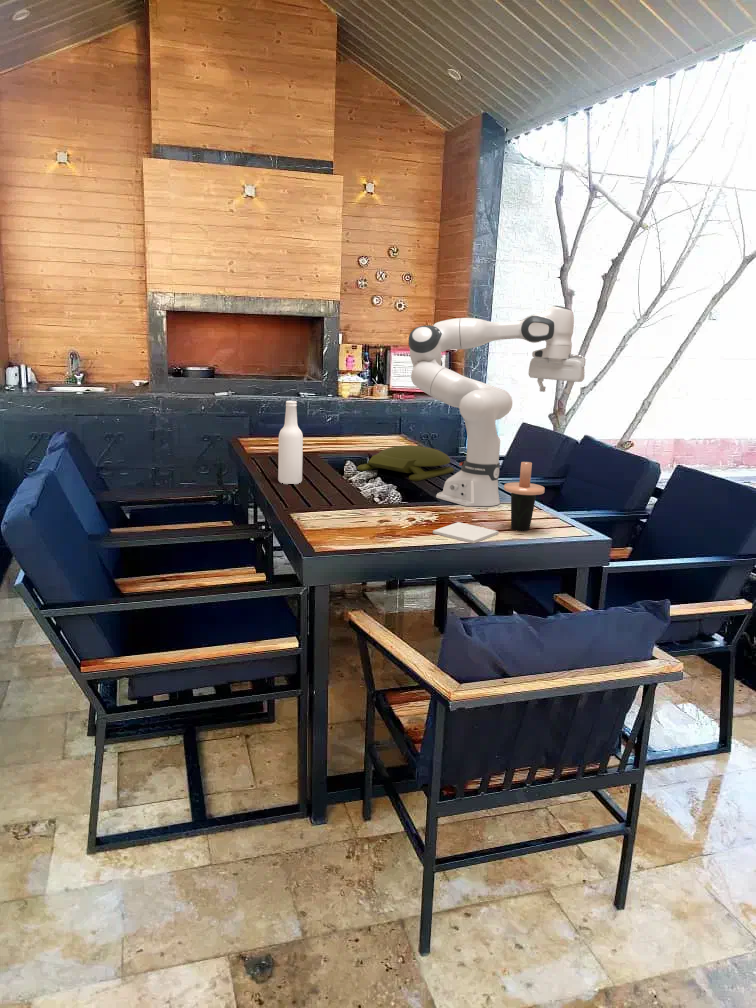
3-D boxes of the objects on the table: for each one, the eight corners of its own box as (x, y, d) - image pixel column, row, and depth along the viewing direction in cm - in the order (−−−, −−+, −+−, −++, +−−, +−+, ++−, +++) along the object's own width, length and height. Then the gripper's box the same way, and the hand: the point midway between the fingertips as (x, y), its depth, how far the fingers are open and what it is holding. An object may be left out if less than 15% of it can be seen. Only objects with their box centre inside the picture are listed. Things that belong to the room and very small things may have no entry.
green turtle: (416, 483, 292) (418, 458, 290) (354, 470, 310) (354, 447, 307) (463, 471, 320) (465, 448, 317) (403, 460, 337) (404, 438, 335)
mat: (432, 533, 223) (432, 530, 223) (458, 524, 234) (458, 522, 234) (473, 543, 215) (473, 540, 215) (498, 533, 226) (498, 531, 226)
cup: (537, 531, 230) (541, 493, 227) (514, 532, 228) (518, 493, 225) (525, 524, 237) (529, 487, 234) (503, 525, 235) (506, 487, 232)
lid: (496, 490, 228) (499, 462, 226) (515, 484, 238) (518, 457, 236) (533, 497, 221) (535, 468, 219) (551, 490, 231) (553, 463, 228)
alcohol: (299, 479, 287) (300, 399, 280) (304, 484, 279) (305, 402, 272) (276, 480, 285) (277, 399, 278) (280, 485, 277) (281, 402, 270)
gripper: (589, 355, 266) (585, 395, 269) (536, 351, 278) (532, 389, 281) (582, 355, 261) (578, 395, 264) (528, 351, 273) (524, 390, 276)
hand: (554, 392), depth 273 cm, fingers open, 8 cm apart
